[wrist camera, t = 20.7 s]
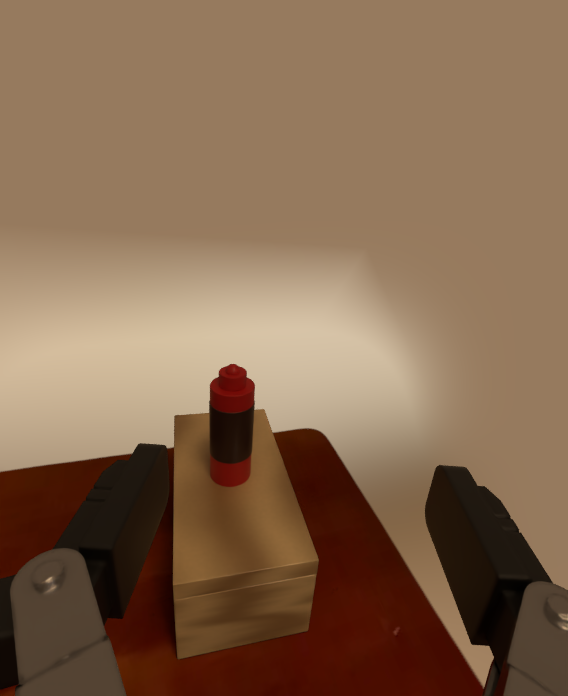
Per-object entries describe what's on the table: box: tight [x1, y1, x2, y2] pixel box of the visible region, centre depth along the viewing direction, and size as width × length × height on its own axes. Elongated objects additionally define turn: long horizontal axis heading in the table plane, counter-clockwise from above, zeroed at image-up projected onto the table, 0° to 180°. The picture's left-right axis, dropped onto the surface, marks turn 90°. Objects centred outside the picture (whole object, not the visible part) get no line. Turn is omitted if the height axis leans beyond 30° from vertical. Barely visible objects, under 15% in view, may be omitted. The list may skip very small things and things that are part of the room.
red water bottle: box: [209, 364, 255, 487], centre depth 34 cm, size 4×4×11 cm
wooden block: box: [173, 409, 319, 659], centre depth 37 cm, size 10×20×8 cm, turn 14°
